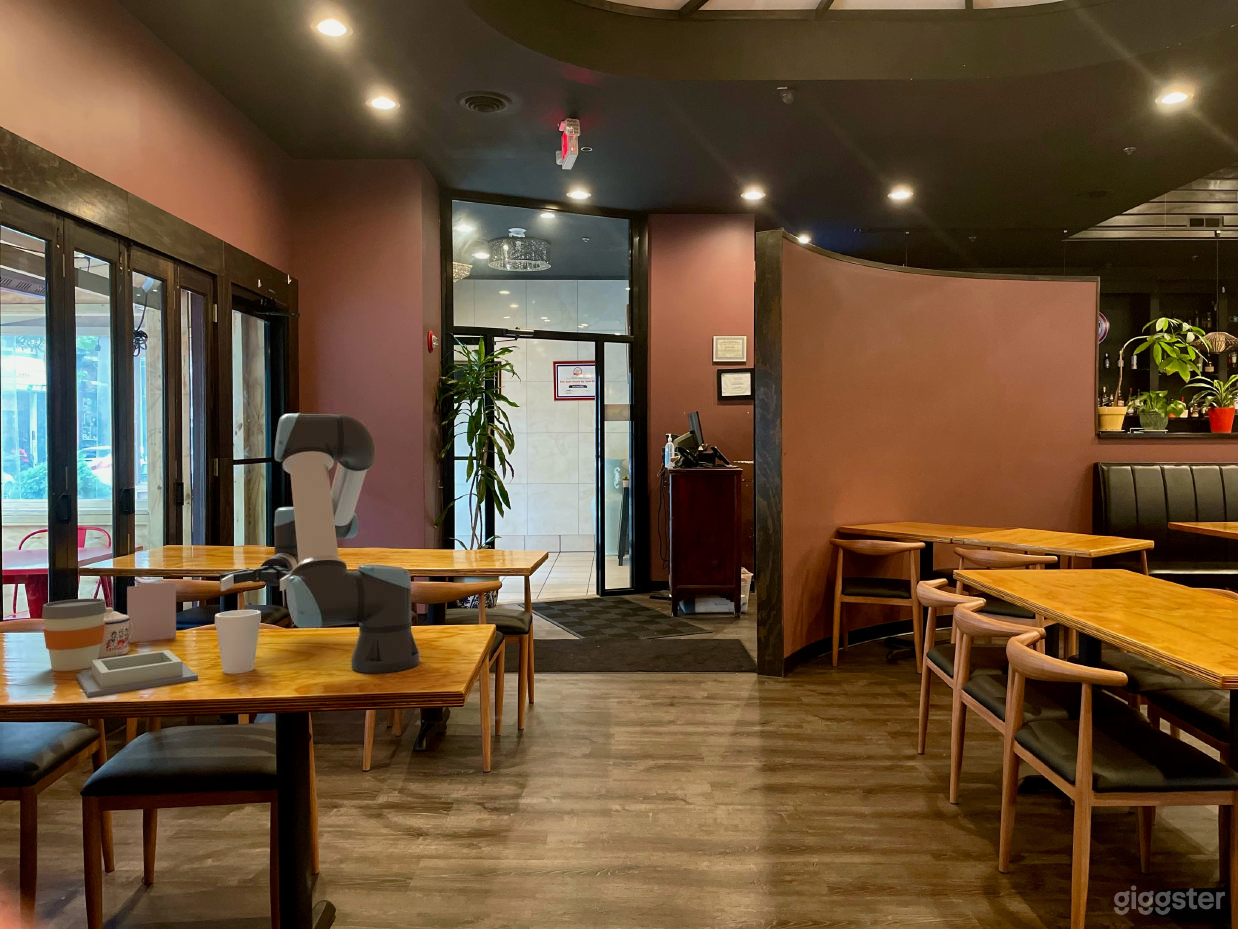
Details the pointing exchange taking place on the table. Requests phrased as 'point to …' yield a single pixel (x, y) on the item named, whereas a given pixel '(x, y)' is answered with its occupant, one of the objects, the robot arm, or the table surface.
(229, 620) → the foam cup
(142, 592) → the greeting card
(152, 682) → the tray
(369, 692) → the table surface
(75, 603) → the reusable coffee cup
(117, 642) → the teacup with lid
